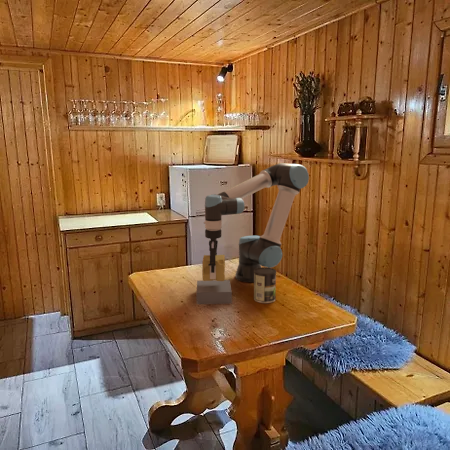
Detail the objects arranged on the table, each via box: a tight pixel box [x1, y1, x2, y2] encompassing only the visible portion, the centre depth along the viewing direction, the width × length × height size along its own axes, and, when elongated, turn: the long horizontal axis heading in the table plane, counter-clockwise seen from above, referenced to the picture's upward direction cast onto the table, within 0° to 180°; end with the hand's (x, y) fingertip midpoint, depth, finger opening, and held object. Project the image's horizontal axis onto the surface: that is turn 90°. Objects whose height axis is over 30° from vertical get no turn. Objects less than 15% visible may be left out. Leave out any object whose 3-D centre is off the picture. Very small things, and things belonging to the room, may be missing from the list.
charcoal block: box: [196, 279, 233, 305], centre depth 193 cm, size 16×16×6 cm
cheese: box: [201, 254, 226, 281], centre depth 191 cm, size 10×11×10 cm
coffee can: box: [253, 266, 277, 304], centre depth 190 cm, size 10×10×14 cm
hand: (213, 275), depth 191 cm, fingers closed on cheese, 10 cm apart
